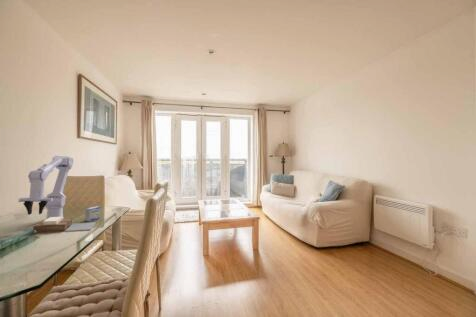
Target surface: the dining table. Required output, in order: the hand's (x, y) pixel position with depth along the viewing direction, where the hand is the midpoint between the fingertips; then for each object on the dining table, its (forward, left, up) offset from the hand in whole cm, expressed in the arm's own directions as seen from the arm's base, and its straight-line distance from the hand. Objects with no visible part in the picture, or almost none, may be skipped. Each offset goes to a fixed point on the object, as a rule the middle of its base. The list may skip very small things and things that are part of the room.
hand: (35, 213), depth 118 cm
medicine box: (-16, +25, -10) cm, 31 cm away
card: (0, +9, -5) cm, 10 cm away
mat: (0, +23, -9) cm, 25 cm away
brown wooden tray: (0, +9, -9) cm, 13 cm away
